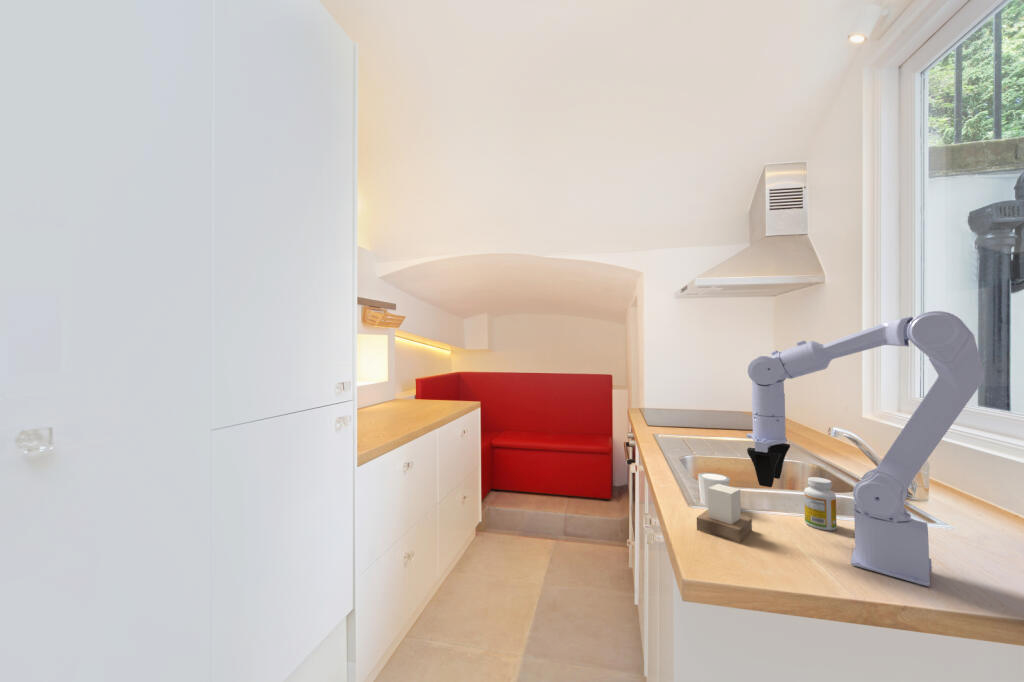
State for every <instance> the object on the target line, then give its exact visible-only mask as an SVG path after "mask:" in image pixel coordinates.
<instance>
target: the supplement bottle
mask: <svg viewBox="0 0 1024 682" xmlns="http://www.w3.org/2000/svg"><path fill="white" fill-rule="evenodd" d="M807 484H808V486H807V487H805V488H804V490H803V491H804V495H803V496H804V500H803V501H804V522H805V524H806V525H807V524H808V525H807V526H809V527H812V528H814V529H818V530H821V531H822V530H823V531H835V530H836V529H837V527H838V526H837V496H836V495H837V494H836V493H835V492H834V491H833V490H831V489H832V484H833V483H832V481H831V480H830V479H827V478H823V477H818V476H817V477H816V476H813V477H812V476H811V477H810V476H809V477H807Z"/></svg>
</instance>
